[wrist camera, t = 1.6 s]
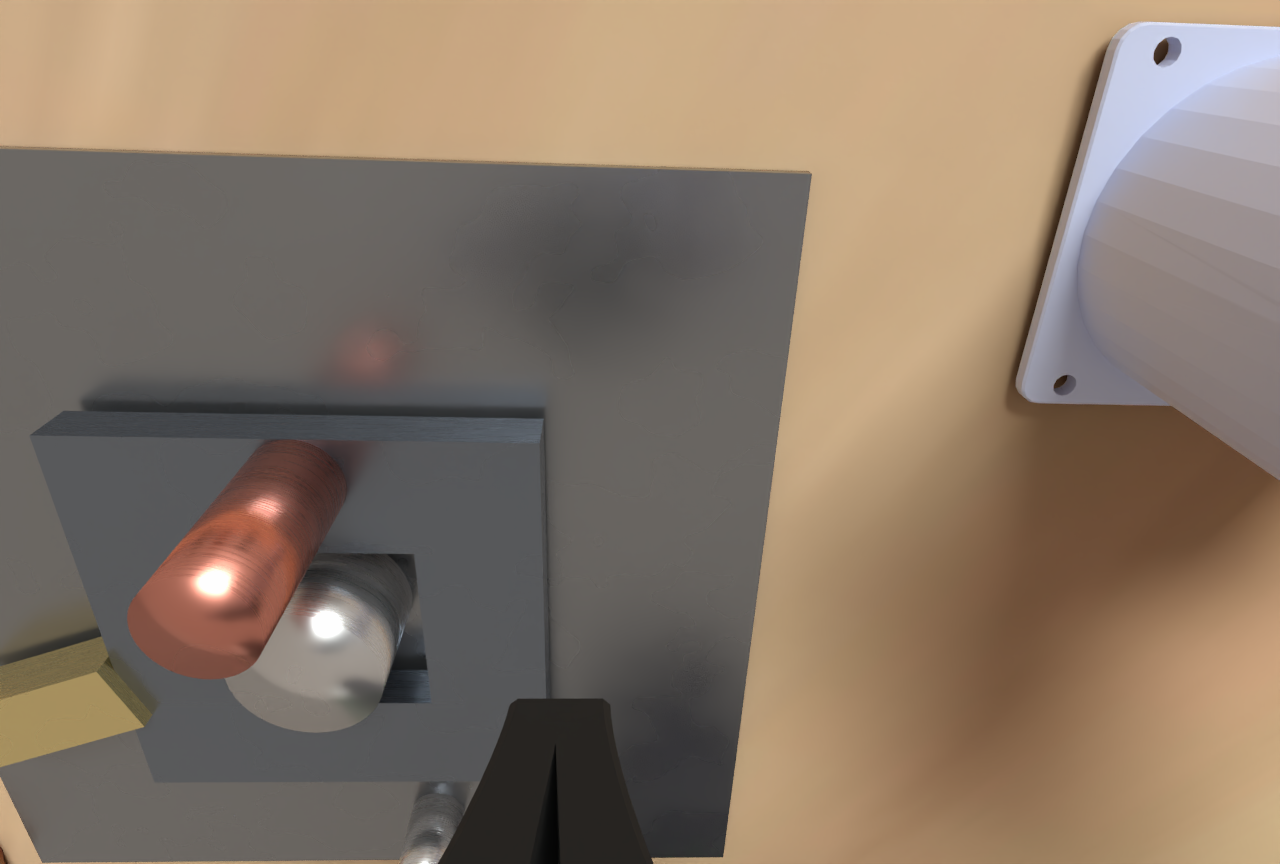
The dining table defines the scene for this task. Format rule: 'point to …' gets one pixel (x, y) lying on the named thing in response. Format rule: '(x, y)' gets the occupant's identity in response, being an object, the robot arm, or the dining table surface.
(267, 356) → the post base
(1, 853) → the cookie
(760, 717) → the dining table surface
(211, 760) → the metal parts fixture
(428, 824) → the dowel pin
